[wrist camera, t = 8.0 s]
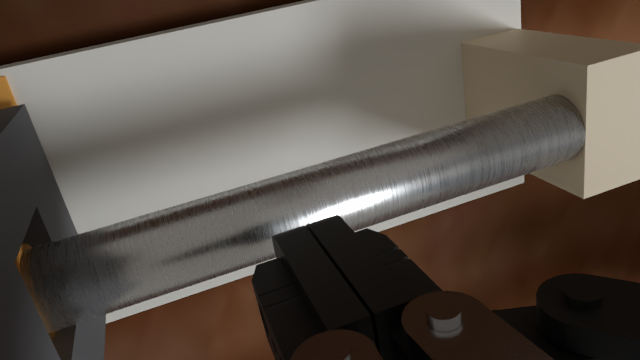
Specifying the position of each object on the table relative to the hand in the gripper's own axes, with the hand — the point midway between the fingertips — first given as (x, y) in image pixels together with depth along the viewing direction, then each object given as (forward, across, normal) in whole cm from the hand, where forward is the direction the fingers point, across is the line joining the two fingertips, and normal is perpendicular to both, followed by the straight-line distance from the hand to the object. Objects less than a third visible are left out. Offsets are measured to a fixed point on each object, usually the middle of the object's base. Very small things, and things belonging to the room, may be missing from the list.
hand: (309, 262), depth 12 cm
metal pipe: (+4, +2, 0) cm, 4 cm away
